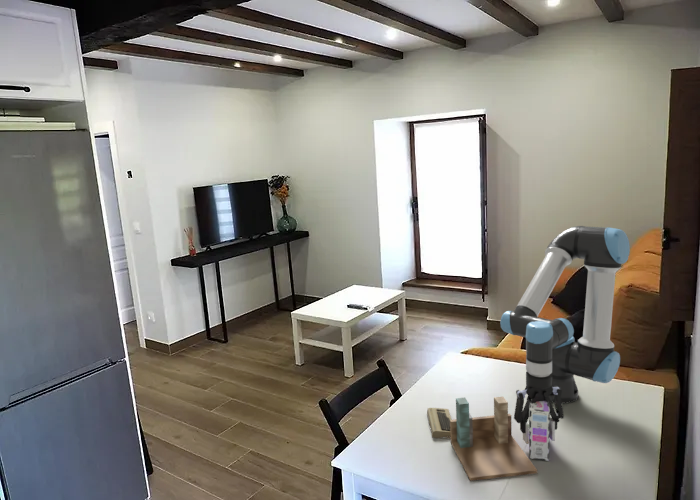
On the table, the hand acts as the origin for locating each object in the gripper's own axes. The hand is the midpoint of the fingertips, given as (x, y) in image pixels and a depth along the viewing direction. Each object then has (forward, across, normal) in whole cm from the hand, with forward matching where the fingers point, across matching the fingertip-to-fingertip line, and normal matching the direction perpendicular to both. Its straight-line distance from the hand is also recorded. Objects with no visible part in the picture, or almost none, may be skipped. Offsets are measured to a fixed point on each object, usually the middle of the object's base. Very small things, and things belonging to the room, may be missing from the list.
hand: (538, 439), depth 157 cm
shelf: (+3, +16, +2) cm, 16 cm away
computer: (+3, +26, -19) cm, 33 cm away
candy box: (+3, 0, 0) cm, 3 cm away
